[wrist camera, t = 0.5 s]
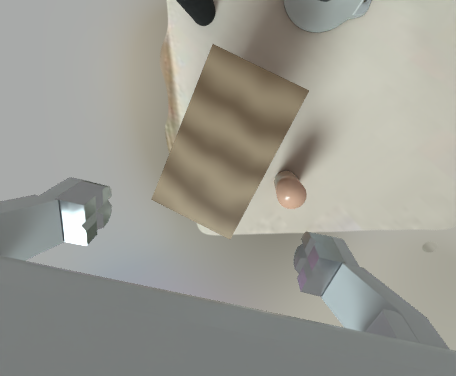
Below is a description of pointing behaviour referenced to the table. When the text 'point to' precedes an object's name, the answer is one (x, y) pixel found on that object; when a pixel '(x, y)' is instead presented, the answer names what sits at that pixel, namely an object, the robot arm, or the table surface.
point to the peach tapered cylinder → (289, 190)
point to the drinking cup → (199, 10)
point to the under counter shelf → (227, 141)
